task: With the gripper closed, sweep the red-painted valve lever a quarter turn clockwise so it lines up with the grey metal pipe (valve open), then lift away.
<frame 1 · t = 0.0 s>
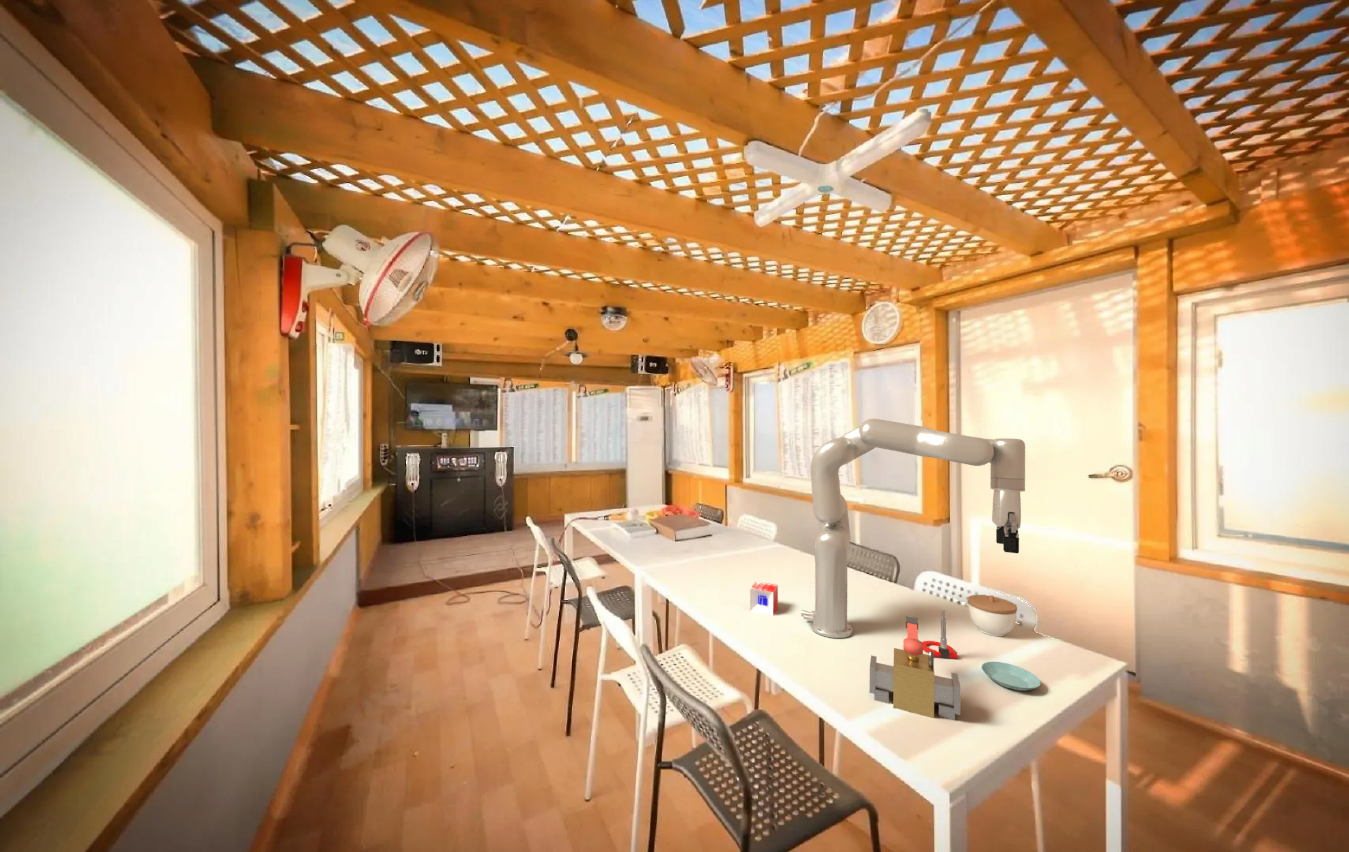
hand: (1007, 547, 122), 31 cm above the table, fingers open, 9 cm apart
saucer: (1010, 683, 113), on the table
lidded bowl: (991, 631, 141), on the table
lever: (912, 634, 110), point 13 cm above the table, hinge at 0.0°
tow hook: (937, 651, 129), on the table
valve body: (912, 702, 104), on the table
white and red cube: (763, 609, 157), on the table
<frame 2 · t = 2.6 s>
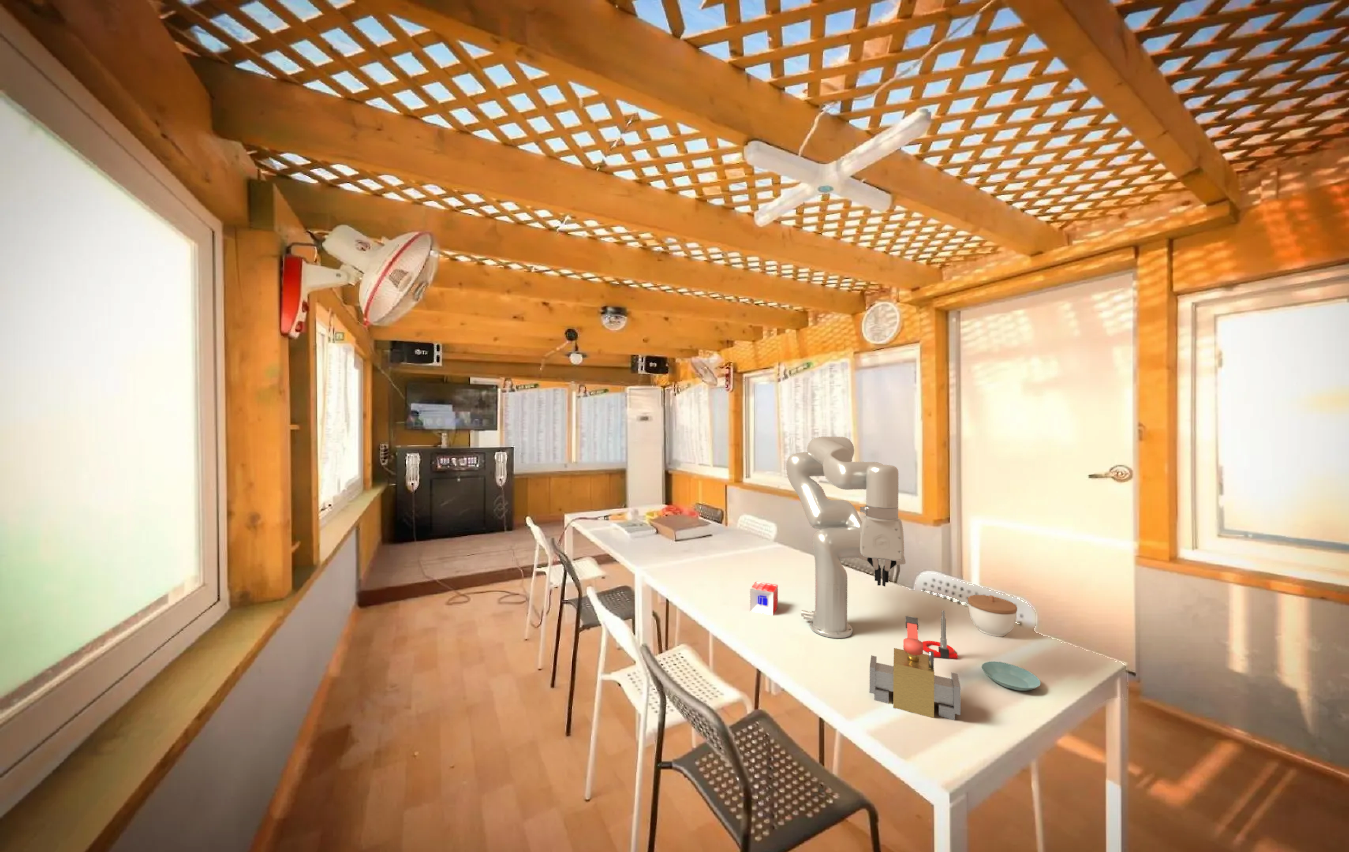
hand: (881, 584, 116), 23 cm above the table, fingers closed
nothing on the table moved.
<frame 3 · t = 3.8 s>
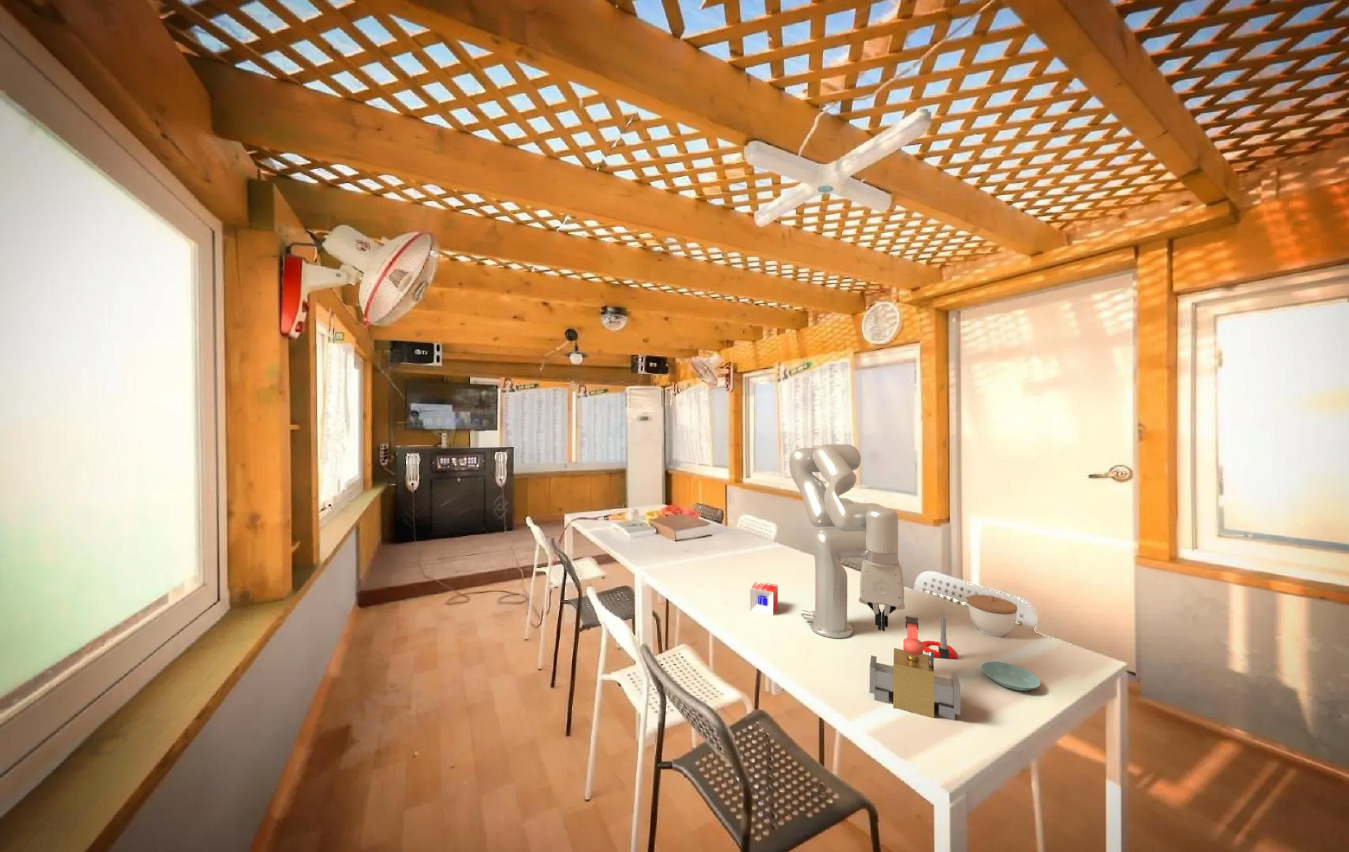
hand: (881, 628, 116), 12 cm above the table, fingers closed
nothing on the table moved.
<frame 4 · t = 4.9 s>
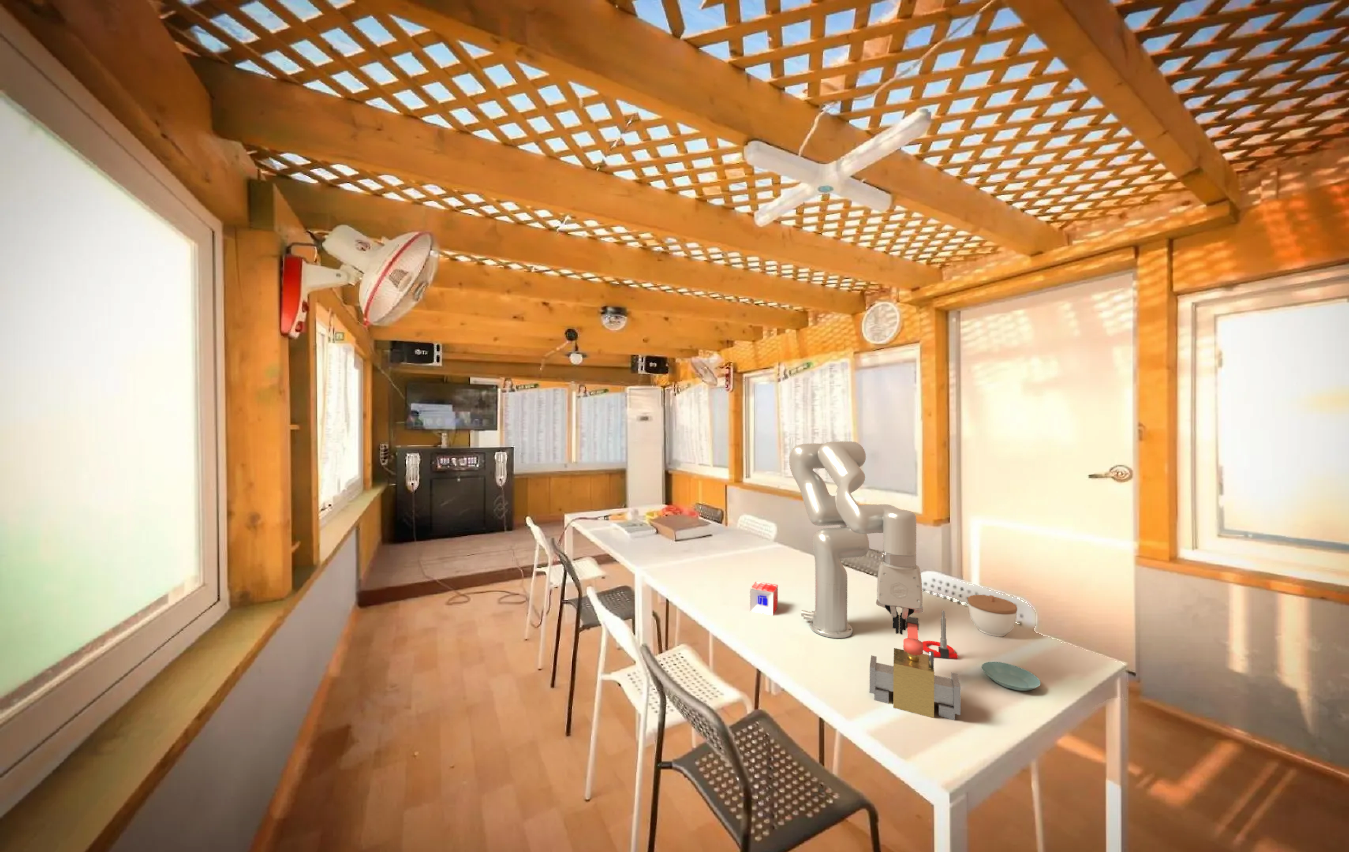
hand: (899, 631, 114), 12 cm above the table, fingers closed
lever: (912, 634, 110), point 13 cm above the table, hinge at 0.4°, touching gripper
everything else where it was.
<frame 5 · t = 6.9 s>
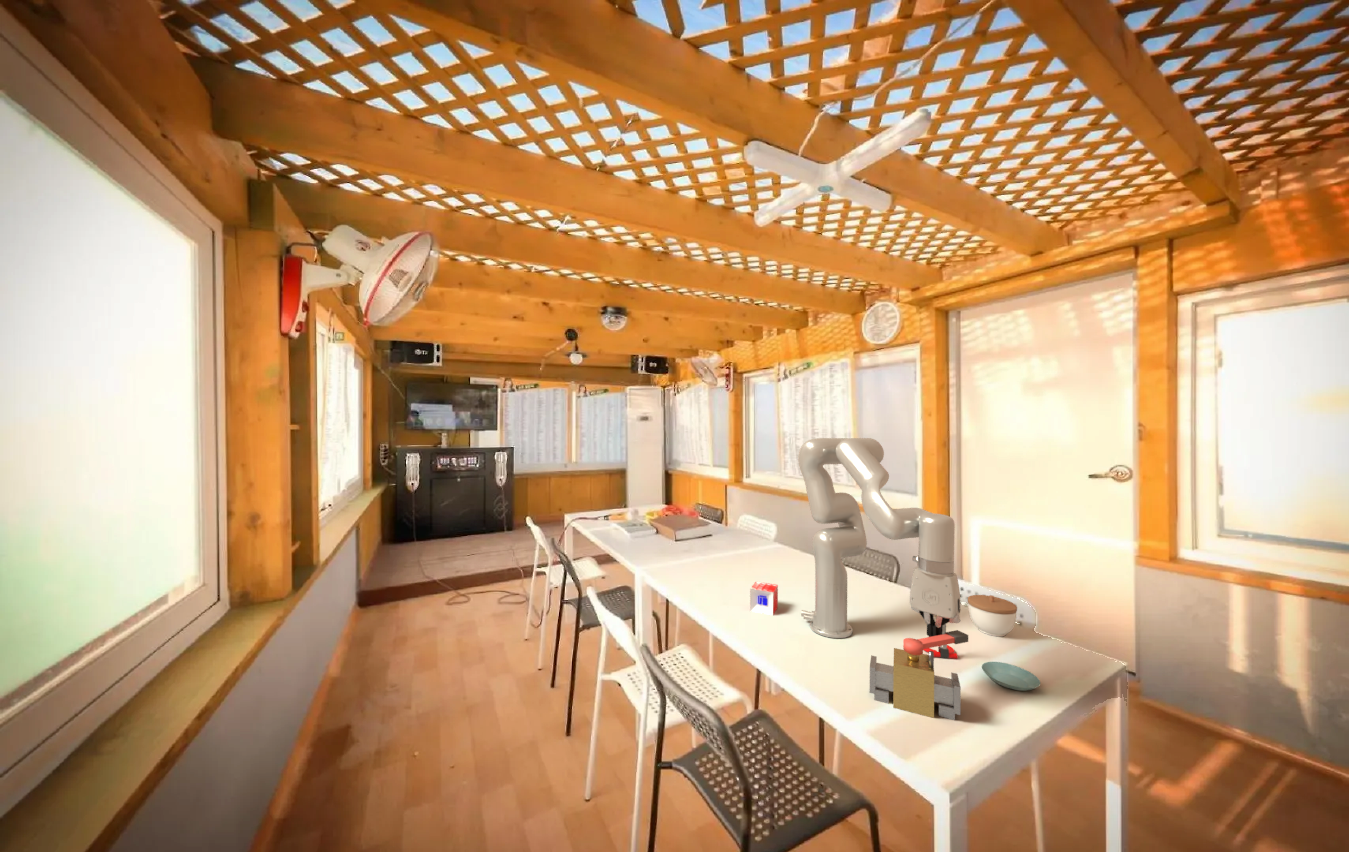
hand: (934, 640, 110), 12 cm above the table, fingers closed
lever: (935, 642, 106), point 13 cm above the table, hinge at 44.6°, touching gripper
everything else where it was.
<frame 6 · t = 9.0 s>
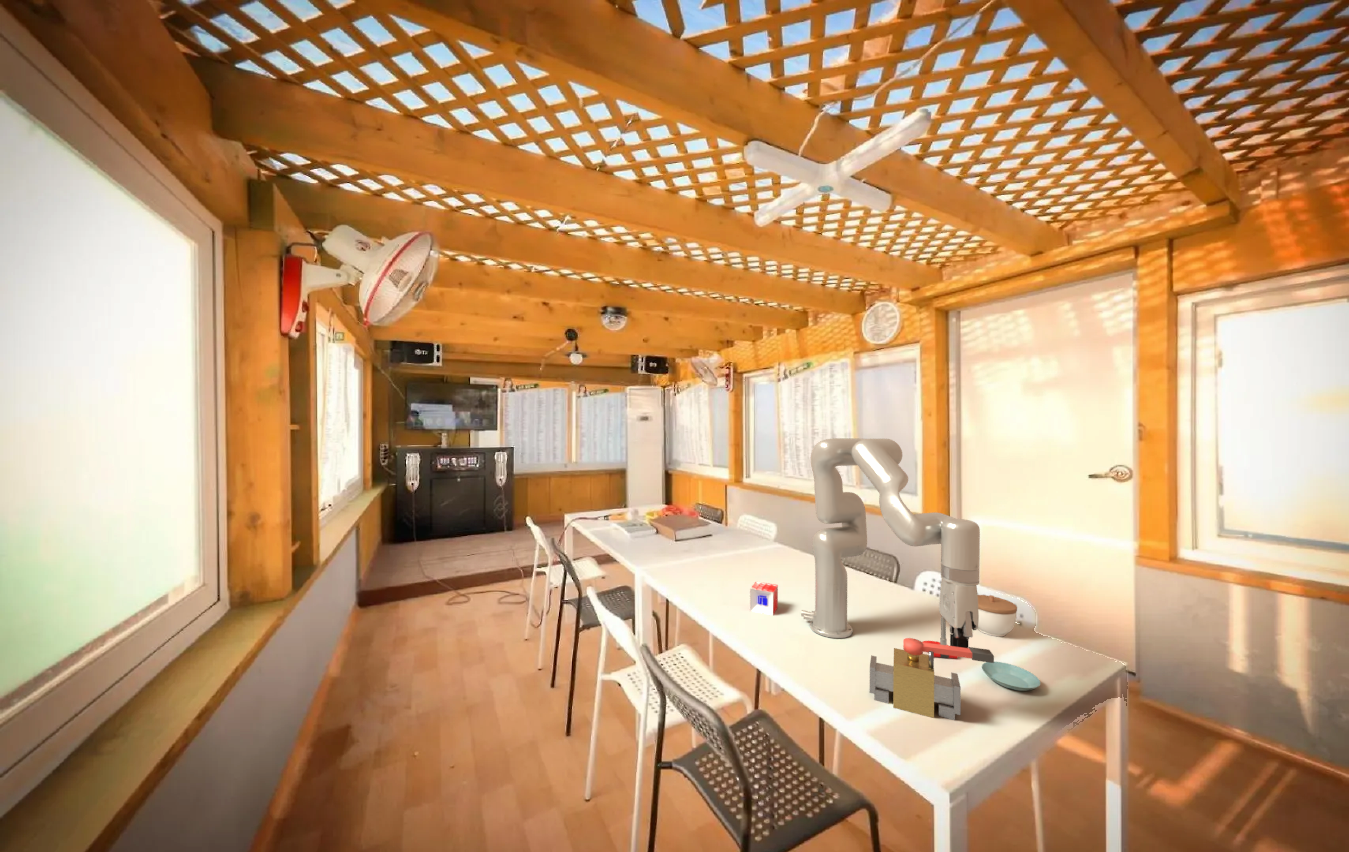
hand: (959, 653, 104), 11 cm above the table, fingers closed
lever: (946, 650, 102), point 13 cm above the table, hinge at 81.1°
everything else where it was.
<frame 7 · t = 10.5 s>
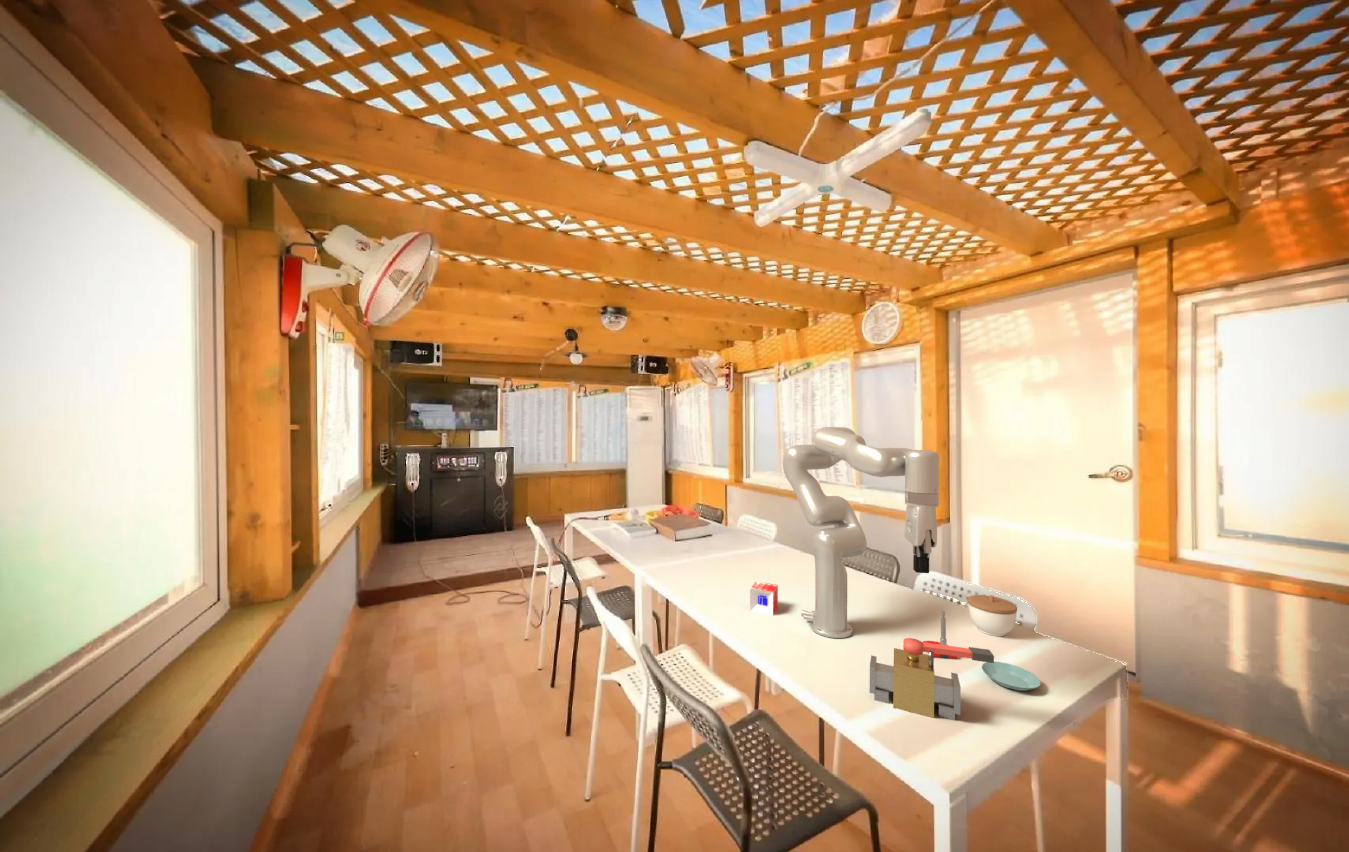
hand: (921, 571, 114), 27 cm above the table, fingers closed
nothing on the table moved.
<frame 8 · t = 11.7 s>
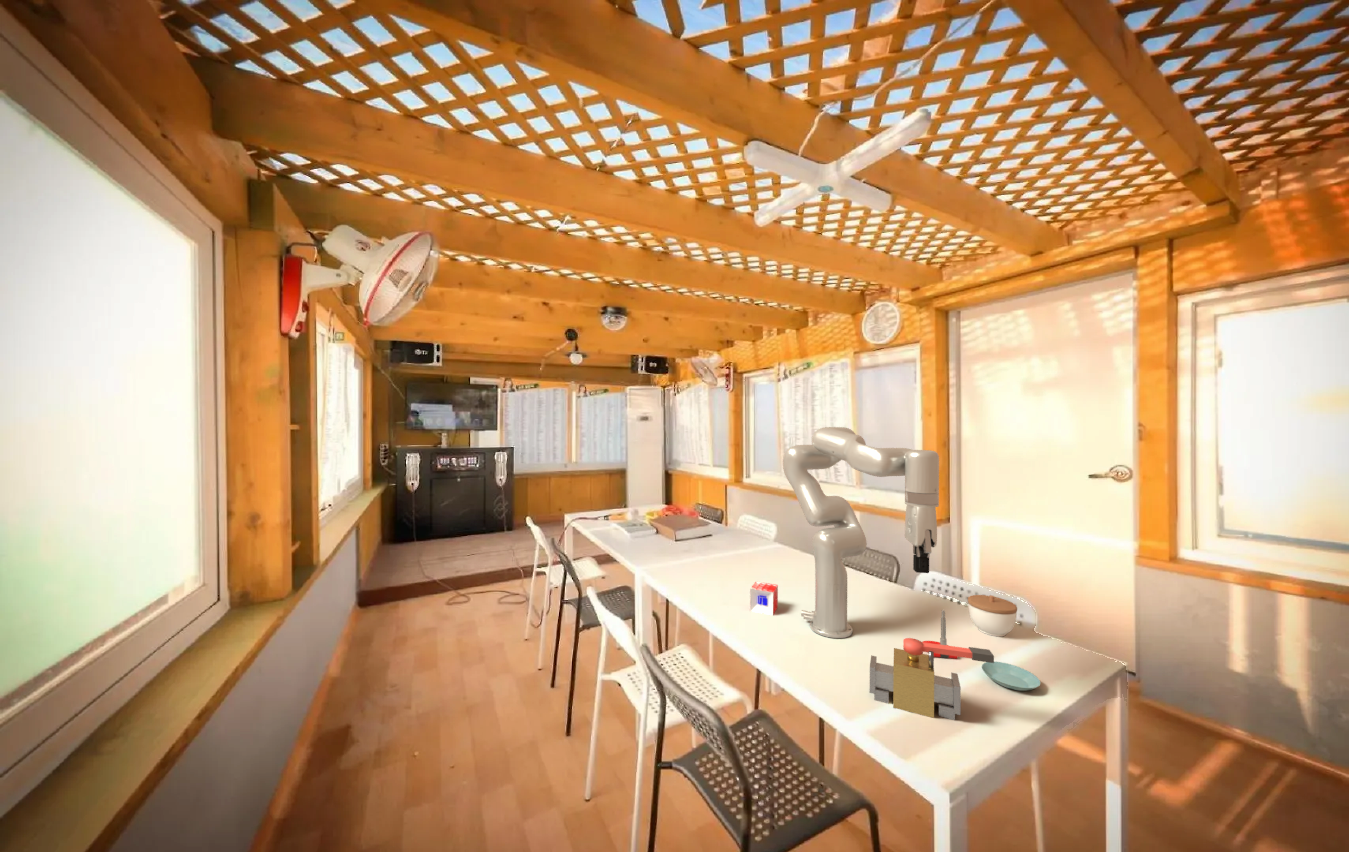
hand: (921, 571, 114), 27 cm above the table, fingers closed
nothing on the table moved.
at the end: lever at +81° (first picture: +0°); lever touching nothing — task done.
